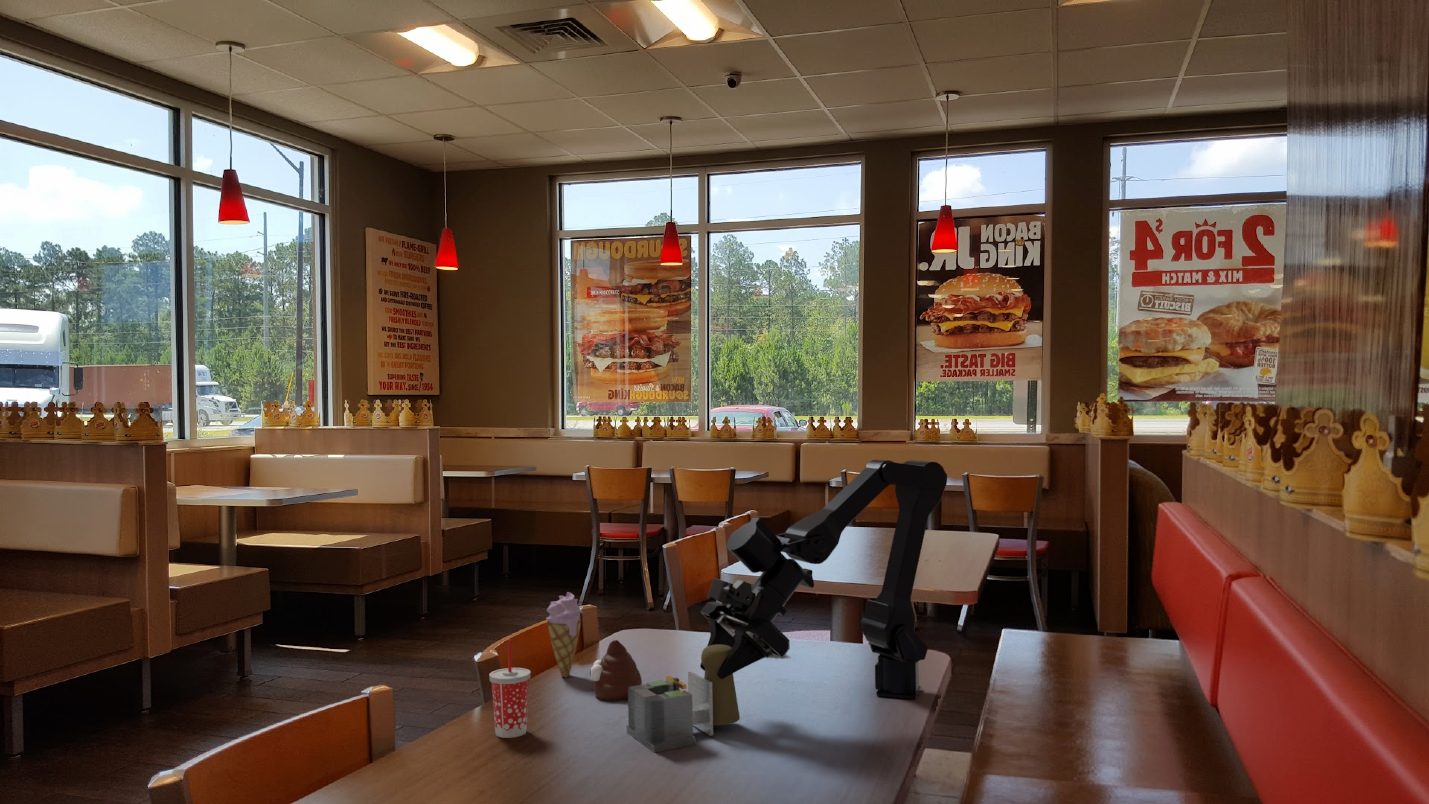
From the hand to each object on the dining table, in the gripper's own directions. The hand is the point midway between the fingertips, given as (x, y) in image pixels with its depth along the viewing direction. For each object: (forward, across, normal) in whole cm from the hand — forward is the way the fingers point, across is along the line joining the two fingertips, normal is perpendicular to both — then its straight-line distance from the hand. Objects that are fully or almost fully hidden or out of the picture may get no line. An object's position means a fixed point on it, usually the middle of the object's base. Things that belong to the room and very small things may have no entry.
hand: (710, 673), depth 149 cm
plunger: (+8, 0, +3) cm, 9 cm away
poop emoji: (+10, -25, +2) cm, 27 cm away
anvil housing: (+11, 0, 0) cm, 11 cm away
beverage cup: (+25, -14, -13) cm, 31 cm away
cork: (+4, 0, +6) cm, 7 cm away
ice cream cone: (+12, -39, 0) cm, 41 cm away
